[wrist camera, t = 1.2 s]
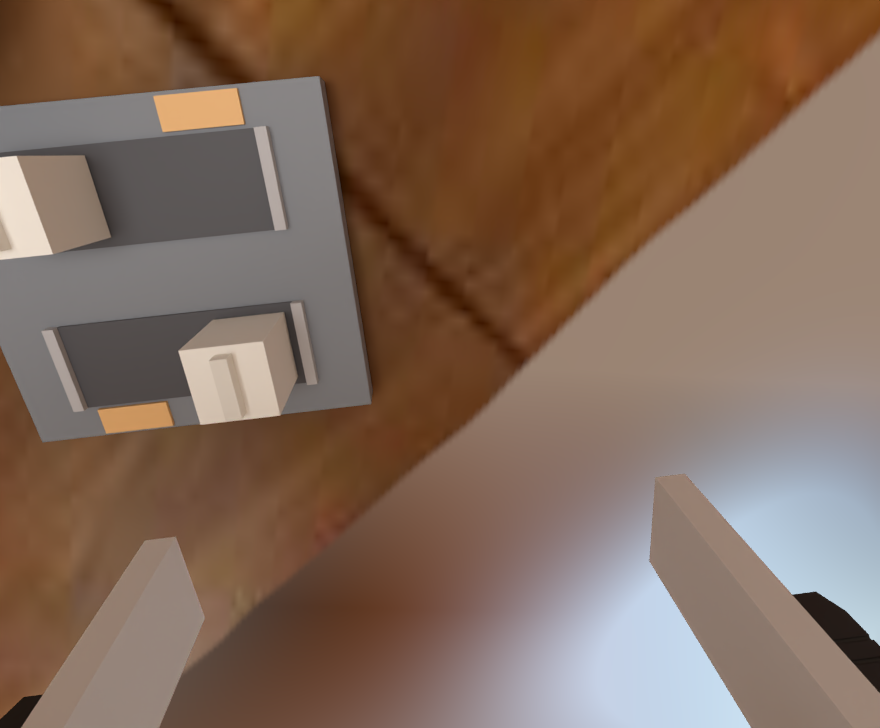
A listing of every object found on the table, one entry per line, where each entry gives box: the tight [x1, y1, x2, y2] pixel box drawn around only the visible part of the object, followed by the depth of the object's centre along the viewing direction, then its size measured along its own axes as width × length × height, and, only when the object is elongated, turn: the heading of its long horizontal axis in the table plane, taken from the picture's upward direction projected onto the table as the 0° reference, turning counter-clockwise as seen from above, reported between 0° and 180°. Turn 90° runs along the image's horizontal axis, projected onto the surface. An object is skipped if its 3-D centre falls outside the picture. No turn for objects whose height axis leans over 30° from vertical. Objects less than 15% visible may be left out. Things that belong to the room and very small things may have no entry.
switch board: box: [0, 76, 373, 442], centre depth 29 cm, size 20×18×3 cm
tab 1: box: [178, 312, 298, 425], centre depth 28 cm, size 4×4×6 cm
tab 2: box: [0, 155, 111, 260], centre depth 24 cm, size 4×4×6 cm
